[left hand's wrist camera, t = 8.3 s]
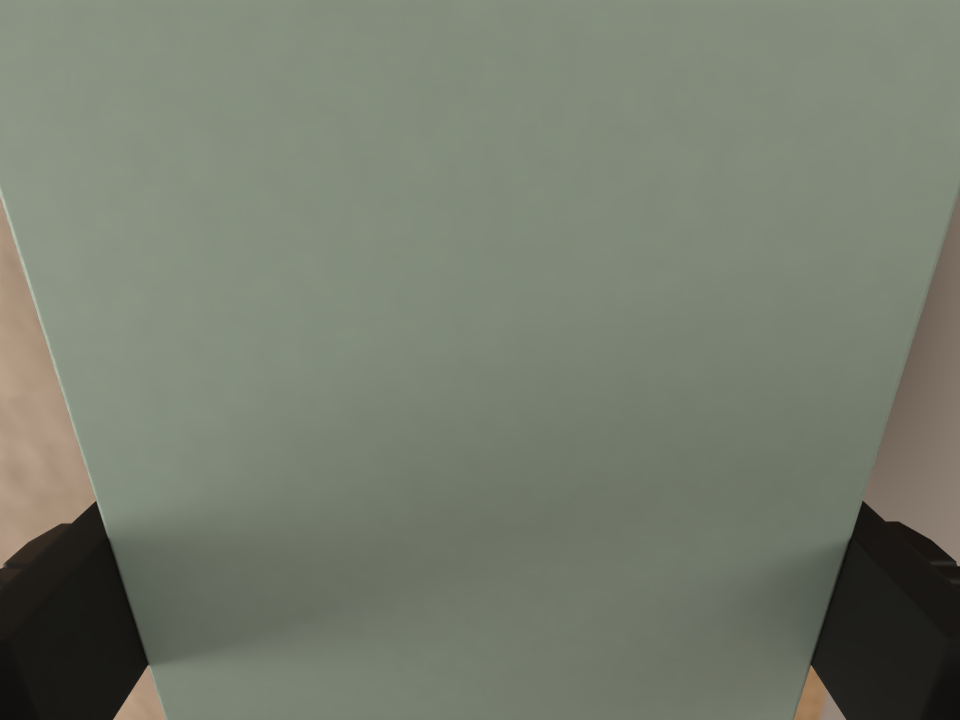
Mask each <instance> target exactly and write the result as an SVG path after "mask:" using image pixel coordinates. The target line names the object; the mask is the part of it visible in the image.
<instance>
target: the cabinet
mask: <svg viewBox="0 0 960 720" xmlns="http://www.w3.org/2000/svg"><path fill="white" fill-rule="evenodd" d="M959 193H960V0H0V198H1V201H2V204H3V207H4V210H5V213H6V217H7V220H8V223H9V226H10V229H11V232H12V236H13V239H14V242H15V245H16V248H17V251H18V254H19V258H20V261H21V264H22V267H23V270H24V273H25V277H26V280H27V283H28V286H29V289H30V292H31V296H32V299H33V302H34V305H35V308H36V311H37V315H38V318H39V321H40V324H41V327H42V330H43V334H44V337H45V340H46V343H47V346H48V349H49V352H50V356H51V359H52V362H53V365H54V368H55V371H56V375H57V378H58V381H59V384H60V387H61V390H62V394H63V397H64V400H65V403H66V406H67V409H68V413H69V416H70V419H71V422H72V425H73V428H74V432H75V435H76V438H77V441H78V444H79V447H80V451H81V454H82V457H83V460H84V463H85V466H86V469H87V473H88V476H89V479H90V482H91V485H92V488H93V492H94V495H95V498H96V501H97V504H98V507H99V511H100V514H101V517H102V520H103V523H104V526H105V530H106V533H107V536H108V539H109V542H110V545H111V549H112V552H113V555H114V558H115V561H116V564H117V568H118V571H119V574H120V577H121V580H122V583H123V586H124V590H125V593H126V596H127V599H128V602H129V605H130V609H131V612H132V615H133V618H134V621H135V624H136V628H137V631H138V634H139V637H140V640H141V643H142V647H143V650H144V653H145V656H146V659H147V662H148V666H149V669H150V672H151V675H152V678H153V681H154V685H155V688H156V691H157V694H158V697H159V700H160V703H161V707H162V710H163V713H164V716H165V719H166V720H794V717H795V713H796V710H797V707H798V704H799V701H800V698H801V694H802V691H803V688H804V685H805V682H806V679H807V675H808V672H809V669H810V666H811V663H812V659H813V656H814V653H815V650H816V647H817V644H818V640H819V637H820V634H821V631H822V628H823V625H824V621H825V618H826V615H827V612H828V609H829V605H830V602H831V599H832V596H833V593H834V590H835V586H836V583H837V580H838V577H839V574H840V571H841V567H842V564H843V561H844V558H845V555H846V551H847V548H848V545H849V542H850V539H851V536H852V532H853V529H854V526H855V523H856V520H857V517H858V513H859V510H860V507H861V504H862V501H863V497H864V494H865V491H866V488H867V485H868V482H869V478H870V475H871V472H872V469H873V466H874V463H875V459H876V456H877V453H878V450H879V447H880V443H881V440H882V437H883V434H884V431H885V428H886V424H887V421H888V418H889V415H890V412H891V409H892V405H893V402H894V399H895V396H896V393H897V389H898V386H899V383H900V380H901V377H902V374H903V370H904V367H905V364H906V361H907V358H908V355H909V351H910V348H911V345H912V342H913V339H914V335H915V332H916V329H917V326H918V323H919V319H920V316H921V313H922V310H923V307H924V304H925V300H926V297H927V294H928V291H929V288H930V285H931V281H932V278H933V275H934V272H935V269H936V266H937V262H938V259H939V256H940V253H941V250H942V246H943V243H944V240H945V237H946V234H947V231H948V227H949V224H950V221H951V218H952V215H953V212H954V208H955V205H956V202H957V199H958V196H959Z"/></svg>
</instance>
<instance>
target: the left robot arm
mask: <svg viewBox="0 0 960 720" xmlns="http://www.w3.org/2000/svg"><path fill="white" fill-rule="evenodd" d="M811 665H812V667H813V668H814V670H815V671H816V673H817V675H818V676H819V678H820V679H821V681H822V682H823V684H824V685H825V687H826V689H827V690H828V692H829V693H830V695H831V696H832V698H833V700H834V701H835V703H836V704H837V706H838V707H839V709H840V710H841V712H842V714H843V715H844V717H845V718H846V720H960V566H957V564H956V561H955V560H954V559H952V558H951V557H950V556H949V555H948V554H947V553H946V552H944V551H943V550H942V549H941V548H940V547H939V546H938V545H936V544H935V543H934V542H933V541H932V540H930V539H928V538H927V537H925V536H923V535H921V534H920V533H918V532H916V531H914V530H913V529H911V528H909V527H907V526H905V525H904V524H902V523H900V522H885V521H884V520H883V519H882V518H881V517H880V516H879V515H878V514H877V513H876V512H875V511H874V510H872V509H871V508H870V507H869V506H868V505H867V504H866V503H865V502H864V501H862V504H861V507H860V510H859V513H858V517H857V520H856V523H855V526H854V529H853V532H852V536H851V539H850V542H849V545H848V548H847V551H846V555H845V558H844V561H843V564H842V567H841V571H840V574H839V577H838V580H837V583H836V586H835V590H834V593H833V596H832V599H831V602H830V605H829V609H828V612H827V615H826V618H825V621H824V625H823V628H822V631H821V634H820V637H819V640H818V644H817V647H816V650H815V653H814V656H813V659H812V663H811ZM147 666H148V662H147V659H146V656H145V653H144V650H143V647H142V643H141V640H140V637H139V634H138V631H137V628H136V624H135V621H134V618H133V615H132V612H131V609H130V605H129V602H128V599H127V596H126V593H125V590H124V586H123V583H122V580H121V577H120V574H119V571H118V568H117V564H116V561H115V558H114V555H113V552H112V549H111V545H110V542H109V539H108V536H107V533H106V530H105V526H104V523H103V520H102V517H101V514H100V511H99V507H98V504H97V501H96V502H94V503H93V504H92V505H91V506H90V507H89V508H88V509H87V510H86V511H85V512H84V513H83V514H81V515H80V516H79V517H78V518H77V519H76V520H75V521H74V522H73V523H72V524H60V525H58V526H56V527H54V528H53V529H51V530H49V531H47V532H46V533H44V534H42V535H40V536H39V537H37V538H35V539H33V540H32V541H30V542H28V543H27V544H26V545H25V546H24V547H22V548H21V549H20V550H19V551H18V552H17V553H16V554H14V555H13V556H12V557H11V558H10V559H9V560H8V561H6V562H5V563H4V564H3V568H2V569H0V720H113V719H114V717H115V716H116V714H117V713H118V711H119V709H120V708H121V706H122V705H123V703H124V702H125V700H126V699H127V697H128V695H129V694H130V692H131V691H132V689H133V688H134V686H135V685H136V683H137V681H138V680H139V678H140V677H141V675H142V674H143V672H144V670H145V669H146V667H147Z"/></svg>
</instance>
